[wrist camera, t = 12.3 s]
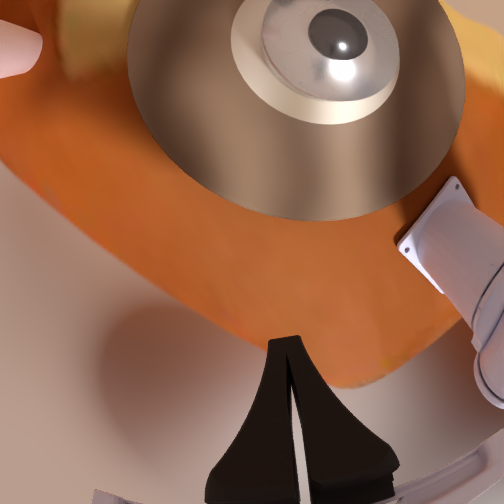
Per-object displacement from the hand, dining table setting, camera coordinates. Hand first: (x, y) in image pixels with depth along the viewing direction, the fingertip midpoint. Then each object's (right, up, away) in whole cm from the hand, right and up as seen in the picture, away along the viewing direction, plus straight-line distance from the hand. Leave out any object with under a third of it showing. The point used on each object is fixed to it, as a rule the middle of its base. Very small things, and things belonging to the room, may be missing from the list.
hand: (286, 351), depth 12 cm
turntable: (+2, +17, +1) cm, 17 cm away
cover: (+2, +16, 0) cm, 16 cm away
